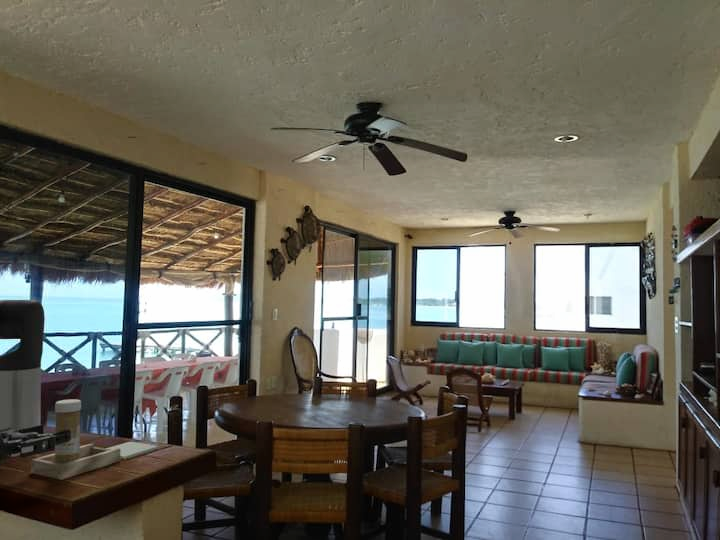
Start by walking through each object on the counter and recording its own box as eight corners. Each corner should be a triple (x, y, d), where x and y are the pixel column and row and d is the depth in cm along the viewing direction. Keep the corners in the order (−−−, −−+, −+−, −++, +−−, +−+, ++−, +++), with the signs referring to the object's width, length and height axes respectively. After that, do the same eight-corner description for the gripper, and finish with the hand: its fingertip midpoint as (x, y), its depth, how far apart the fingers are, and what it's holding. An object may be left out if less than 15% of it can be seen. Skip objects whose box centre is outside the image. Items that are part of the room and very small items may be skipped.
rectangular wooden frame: (61, 479, 106) (61, 466, 106) (31, 472, 110) (31, 459, 110) (120, 461, 117) (120, 448, 117) (91, 455, 122) (91, 443, 122)
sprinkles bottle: (52, 474, 109) (52, 403, 110) (57, 467, 113) (57, 399, 114) (78, 471, 110) (78, 402, 111) (82, 465, 115) (82, 397, 115)
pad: (124, 459, 118) (124, 456, 118) (95, 454, 122) (95, 451, 122) (158, 448, 126) (158, 446, 126) (130, 444, 130) (130, 441, 130)
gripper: (-12, 436, 92) (79, 416, 107) (-58, 427, 99) (33, 409, 114) (-12, 483, 92) (79, 457, 106) (-59, 470, 99) (33, 447, 113)
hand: (55, 432), depth 110 cm, fingers open, 8 cm apart
